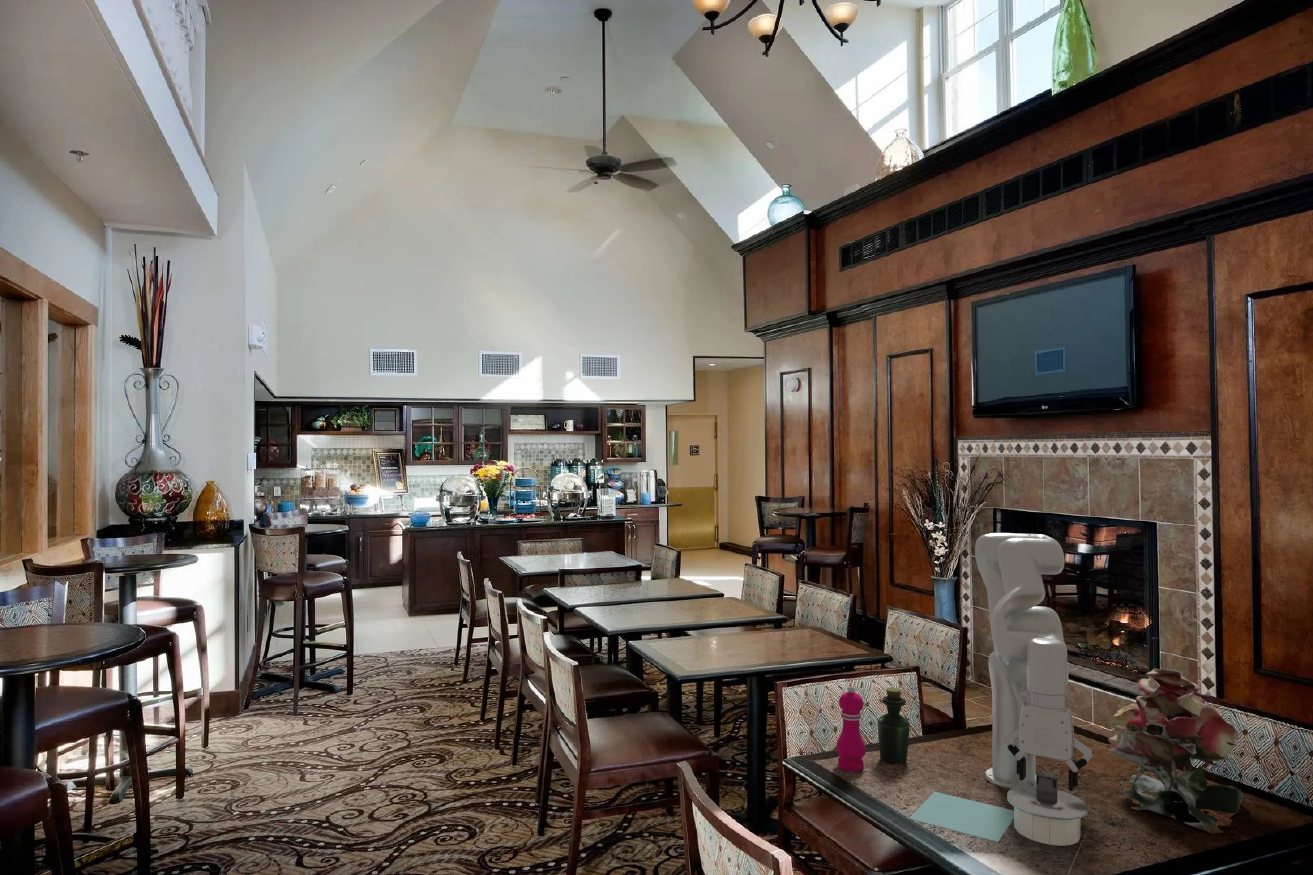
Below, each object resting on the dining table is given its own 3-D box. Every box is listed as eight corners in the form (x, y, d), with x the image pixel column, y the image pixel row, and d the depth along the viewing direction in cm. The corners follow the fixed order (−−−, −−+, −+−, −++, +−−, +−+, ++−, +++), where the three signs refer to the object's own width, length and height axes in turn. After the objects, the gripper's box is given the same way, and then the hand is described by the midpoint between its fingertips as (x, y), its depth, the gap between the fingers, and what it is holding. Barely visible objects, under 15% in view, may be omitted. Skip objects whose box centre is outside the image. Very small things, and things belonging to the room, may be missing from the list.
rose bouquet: (1246, 798, 191) (1246, 667, 192) (1228, 840, 170) (1227, 692, 170) (1122, 769, 208) (1121, 649, 209) (1090, 804, 187) (1090, 670, 187)
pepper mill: (866, 773, 203) (866, 691, 204) (836, 770, 205) (836, 688, 205) (864, 762, 210) (865, 683, 211) (835, 760, 212) (836, 681, 212)
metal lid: (1015, 784, 182) (1015, 757, 182) (1092, 801, 173) (1092, 773, 173) (999, 806, 170) (999, 778, 170) (1081, 826, 161) (1081, 796, 161)
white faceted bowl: (1022, 816, 180) (1022, 788, 180) (1083, 831, 173) (1083, 801, 173) (1009, 836, 170) (1009, 806, 170) (1074, 852, 163) (1074, 821, 163)
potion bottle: (913, 758, 214) (913, 688, 214) (906, 768, 207) (906, 695, 207) (881, 752, 218) (882, 683, 218) (873, 762, 211) (873, 690, 211)
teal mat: (934, 793, 191) (934, 791, 192) (1018, 813, 181) (1018, 811, 181) (908, 820, 177) (908, 818, 177) (998, 843, 166) (998, 841, 166)
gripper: (998, 696, 174) (998, 779, 174) (1090, 711, 164) (1091, 799, 164) (1006, 688, 180) (1006, 768, 180) (1096, 702, 170) (1096, 788, 170)
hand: (1046, 783), depth 172 cm, fingers open, 9 cm apart
